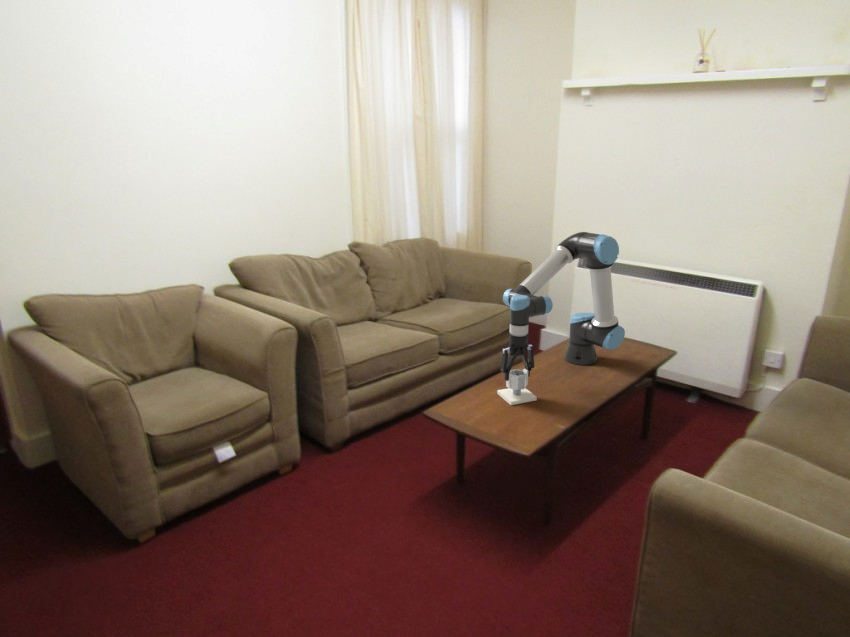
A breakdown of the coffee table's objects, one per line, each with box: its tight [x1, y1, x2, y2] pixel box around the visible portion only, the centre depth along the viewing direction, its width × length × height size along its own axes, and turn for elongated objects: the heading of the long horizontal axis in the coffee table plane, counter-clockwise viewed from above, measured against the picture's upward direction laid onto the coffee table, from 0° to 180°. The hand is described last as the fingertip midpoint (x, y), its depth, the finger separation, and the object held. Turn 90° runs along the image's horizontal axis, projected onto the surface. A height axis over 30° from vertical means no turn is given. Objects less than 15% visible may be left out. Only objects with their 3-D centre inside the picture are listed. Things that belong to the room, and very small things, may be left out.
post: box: [496, 387, 538, 406], centre depth 235 cm, size 12×12×8 cm
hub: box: [510, 368, 527, 390], centre depth 234 cm, size 7×7×6 cm
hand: (516, 385), depth 235 cm, fingers closed on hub, 7 cm apart
